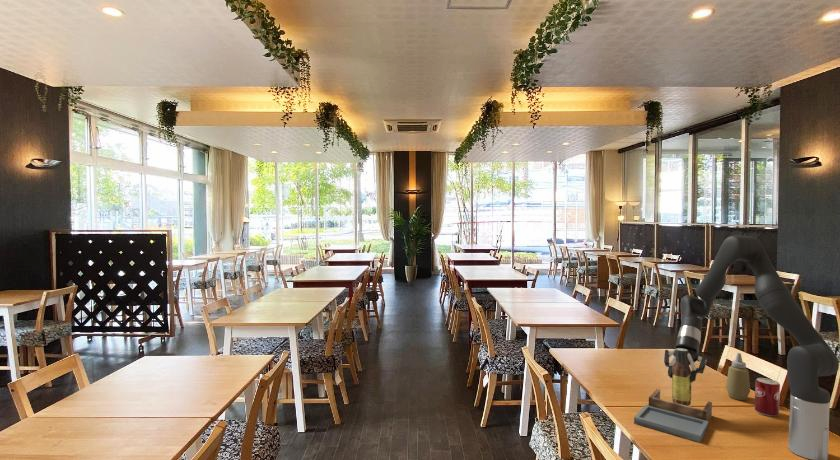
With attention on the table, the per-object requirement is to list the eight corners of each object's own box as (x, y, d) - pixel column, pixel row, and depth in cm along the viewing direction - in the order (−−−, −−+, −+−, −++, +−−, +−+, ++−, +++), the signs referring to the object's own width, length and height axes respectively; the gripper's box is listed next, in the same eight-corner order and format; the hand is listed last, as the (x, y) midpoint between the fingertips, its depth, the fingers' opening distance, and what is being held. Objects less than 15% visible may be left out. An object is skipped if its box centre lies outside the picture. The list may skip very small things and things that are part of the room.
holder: (711, 415, 166) (712, 402, 166) (705, 426, 158) (706, 411, 158) (656, 401, 179) (656, 389, 178) (648, 410, 170) (648, 397, 170)
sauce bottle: (693, 407, 165) (695, 352, 164) (675, 406, 166) (676, 351, 165) (687, 400, 171) (688, 347, 171) (669, 399, 172) (670, 346, 172)
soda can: (756, 414, 168) (757, 382, 168) (752, 407, 174) (753, 376, 174) (781, 418, 165) (782, 385, 164) (776, 411, 171) (777, 379, 171)
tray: (708, 427, 157) (708, 421, 157) (700, 442, 146) (700, 435, 146) (645, 410, 170) (645, 404, 170) (633, 423, 159) (634, 417, 159)
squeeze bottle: (720, 395, 186) (722, 351, 185) (733, 392, 189) (734, 349, 188) (742, 403, 178) (743, 357, 178) (754, 399, 182) (756, 355, 181)
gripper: (666, 331, 179) (657, 369, 170) (709, 338, 169) (702, 378, 161) (669, 342, 183) (661, 379, 174) (711, 349, 173) (704, 389, 165)
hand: (680, 378), depth 167 cm, fingers closed on sauce bottle, 6 cm apart
